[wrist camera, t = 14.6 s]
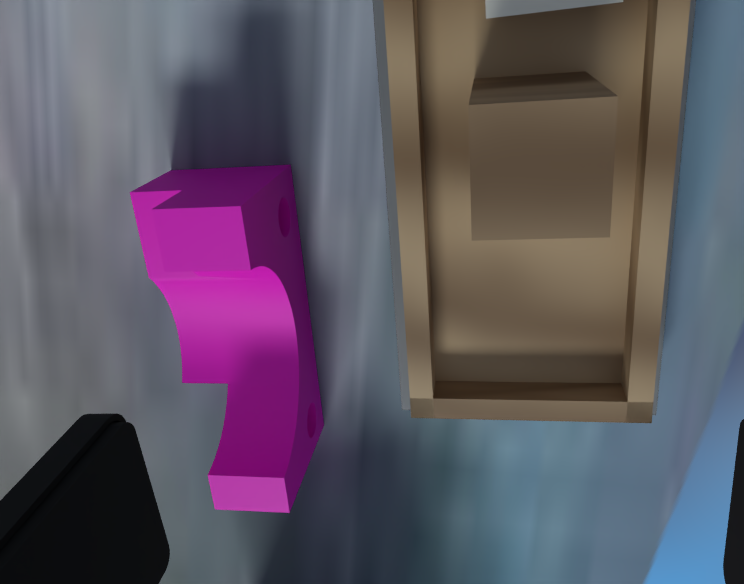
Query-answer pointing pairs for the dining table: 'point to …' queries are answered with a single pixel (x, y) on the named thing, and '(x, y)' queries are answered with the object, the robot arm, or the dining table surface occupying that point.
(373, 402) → the dining table surface
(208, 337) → the toy block
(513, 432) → the dining table surface
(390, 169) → the block
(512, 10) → the grey box
